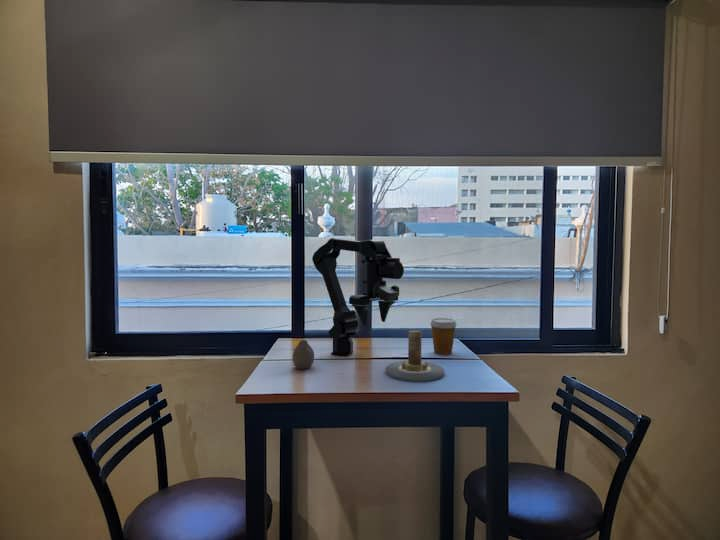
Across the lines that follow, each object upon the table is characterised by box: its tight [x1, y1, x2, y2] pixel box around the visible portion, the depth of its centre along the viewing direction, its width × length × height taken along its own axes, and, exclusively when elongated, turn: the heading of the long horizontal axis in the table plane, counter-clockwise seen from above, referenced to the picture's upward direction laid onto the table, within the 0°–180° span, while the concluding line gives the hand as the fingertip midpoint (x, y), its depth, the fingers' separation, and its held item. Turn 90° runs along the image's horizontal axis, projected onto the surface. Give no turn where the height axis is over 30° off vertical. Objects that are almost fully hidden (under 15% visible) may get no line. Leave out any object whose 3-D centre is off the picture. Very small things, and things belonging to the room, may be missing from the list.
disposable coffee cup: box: [430, 317, 458, 356], centre depth 167 cm, size 10×10×12 cm
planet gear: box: [402, 329, 429, 372], centre depth 142 cm, size 8×8×12 cm
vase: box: [292, 339, 315, 370], centre depth 147 cm, size 7×7×9 cm
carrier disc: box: [385, 360, 445, 383], centre depth 143 cm, size 18×18×1 cm
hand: (374, 323), depth 154 cm, fingers open, 9 cm apart
